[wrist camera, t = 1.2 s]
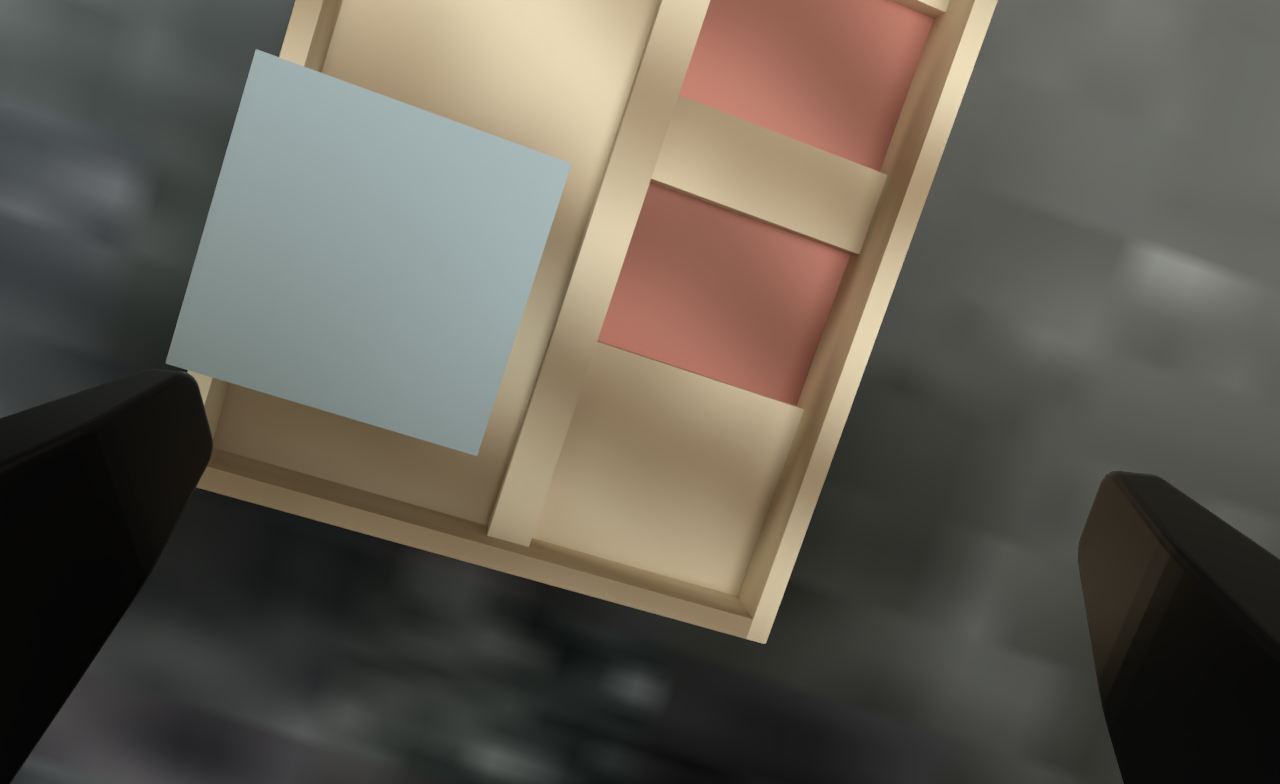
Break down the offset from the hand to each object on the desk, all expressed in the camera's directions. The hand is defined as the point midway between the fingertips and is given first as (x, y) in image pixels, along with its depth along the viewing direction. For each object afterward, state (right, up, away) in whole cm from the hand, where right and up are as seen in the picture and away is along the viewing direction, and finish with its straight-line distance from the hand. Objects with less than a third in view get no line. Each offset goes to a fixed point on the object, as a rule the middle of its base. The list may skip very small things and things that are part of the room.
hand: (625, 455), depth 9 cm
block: (-5, +4, +12) cm, 13 cm away
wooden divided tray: (0, +7, +13) cm, 15 cm away
